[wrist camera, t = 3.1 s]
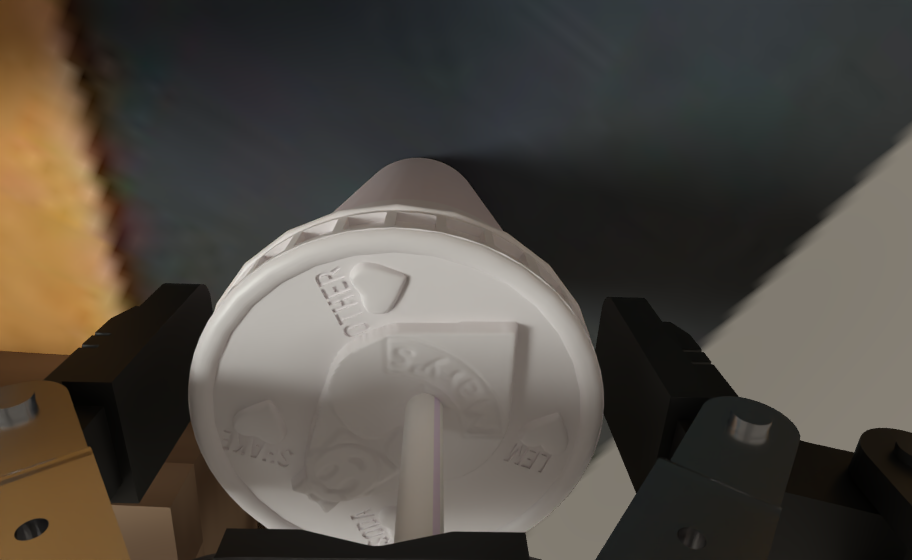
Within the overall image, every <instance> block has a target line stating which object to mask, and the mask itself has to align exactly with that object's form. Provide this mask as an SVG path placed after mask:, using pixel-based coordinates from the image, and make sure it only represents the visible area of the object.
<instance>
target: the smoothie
mask: <svg viewBox="0 0 912 560" xmlns="http://www.w3.org/2000/svg"><path fill="white" fill-rule="evenodd" d="M188 403H189V412H190V418H191V424H192V427H193V431H194V435H195V438H196V441H197V443H198V446H199V448H200V451H201V453H202V455H203V457H204V459H205V461H206V463H207V465H208V467H209V469H210V470H211V472H212V473H213V475H214V476H215V478H216V479H217V481H218V482H219V483H220V485H221V486H222V487H223V488H224V490H225V491H226V492H227V493H228V494H229V496H230V497H231V498H232V499H233V500H234V501H235V502H236V503H237V504H238V505H239V506H240V507H241V508H242V509H243V510H244V511H246V512H247V513H248V514H249V515H251V516H252V517H253V518H254V519H255V520H257V521H258V522H260V523H261V524H262V525H264V526H265V527H266V528H268V529H302V530H306V531H310V532H314V533H319V534H323V535H327V536H331V537H336V538H340V539H344V540H348V541H352V542H357V543H361V544H365V545H370V546H382V545H387V544H392V543H397V542H402V541H407V540H412V539H417V538H422V537H427V536H432V535H437V534H442V533H447V532H452V531H460V532H526V531H528V530H530V529H532V528H533V527H534V526H535V525H537V524H538V523H539V522H541V521H542V520H543V519H545V518H546V517H547V516H548V515H549V514H550V513H552V512H553V511H554V510H555V509H556V508H557V507H558V506H559V505H560V504H561V503H562V502H563V501H564V500H565V498H566V497H567V496H568V495H569V494H570V493H571V491H572V490H573V489H574V487H575V486H576V485H577V483H578V482H579V480H580V479H581V477H582V475H583V474H584V472H585V470H586V469H587V467H588V465H589V463H590V460H591V458H592V456H593V454H594V452H595V449H596V446H597V443H598V440H599V436H600V431H601V426H602V422H603V411H604V388H603V382H602V375H601V370H600V366H599V363H598V359H597V355H596V353H595V350H594V348H593V345H592V342H591V339H590V336H589V333H588V330H587V327H586V324H585V322H584V319H583V316H582V313H581V310H580V307H579V305H578V303H577V302H576V300H575V299H574V298H573V296H572V295H571V294H570V292H569V291H568V290H567V288H566V287H565V286H564V284H563V283H562V281H561V280H560V279H559V277H558V276H557V275H556V273H555V272H554V271H553V269H552V268H551V266H550V265H549V264H547V263H546V262H545V261H543V260H542V259H541V258H540V257H538V256H537V255H536V254H534V253H533V252H532V251H530V250H529V249H528V248H526V247H525V246H524V245H523V244H521V243H520V242H519V241H517V240H516V239H515V238H513V237H512V236H511V235H509V234H508V233H507V232H504V231H503V230H502V229H501V227H500V226H499V224H498V223H497V222H496V220H495V219H494V217H493V216H492V215H491V213H490V212H489V210H488V209H487V208H486V206H485V205H484V203H483V202H482V201H481V199H480V198H479V196H478V195H477V194H476V192H475V191H474V189H473V188H472V187H471V185H470V184H469V183H468V181H467V180H466V179H465V178H464V177H463V176H462V175H461V174H460V173H459V172H458V171H456V170H455V169H454V168H452V167H450V166H449V165H446V164H444V163H442V162H439V161H436V160H433V159H427V158H408V159H403V160H399V161H396V162H394V163H391V164H389V165H387V166H386V167H384V168H382V169H381V170H380V171H378V172H377V173H376V174H375V175H374V176H373V177H372V178H371V179H369V180H368V181H367V182H366V183H365V184H364V185H363V186H362V187H361V188H360V189H358V190H357V191H356V192H355V193H354V194H353V195H352V196H351V197H350V198H348V199H347V200H346V201H345V202H344V203H343V204H342V205H341V206H340V207H338V208H337V209H336V210H335V211H334V212H333V213H331V214H329V215H326V216H324V217H321V218H319V219H316V220H314V221H311V222H309V223H306V224H303V225H301V226H298V227H296V228H293V229H291V230H288V231H286V232H285V233H284V234H283V235H281V236H280V237H279V238H277V239H276V240H275V241H273V242H272V243H271V244H270V245H268V246H267V247H266V248H264V249H263V250H262V251H260V252H259V253H258V254H257V255H255V256H254V257H253V258H251V259H250V260H249V261H247V262H246V263H245V264H244V265H243V267H242V268H241V270H240V271H239V273H238V274H237V275H236V277H235V278H234V280H233V281H232V283H231V284H230V285H229V287H228V288H227V290H226V291H225V292H224V294H223V295H222V297H221V298H220V300H219V301H218V302H217V304H216V308H215V311H214V313H213V314H212V316H211V317H210V319H209V320H208V322H207V324H206V326H205V328H204V330H203V332H202V334H201V336H200V338H199V341H198V344H197V346H196V349H195V352H194V355H193V359H192V364H191V368H190V375H189V385H188Z"/></svg>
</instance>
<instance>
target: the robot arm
mask: <svg viewBox="0 0 912 560" xmlns="http://www.w3.org/2000/svg"><path fill="white" fill-rule="evenodd" d="M212 314H213V311H212V303H211V297H210V293H209V290H208V288H207V287H206V286H205V285H204V284H173V283H165V284H163V285H161V286H160V287H159V288H158V289H157V290H156V291H155V292H154V293H153V294H152V295H151V296H150V297H149V298H148V299H147V300H146V301H145V302H144V303H143V304H141V305H140V306H135V307H133V308H131V309H129V310H127V311H125V312H123V313H121V314H119V315H117V316H115V317H113V318H111V319H110V320H109V321H107V322H106V323H105V324H104V325H103V326H102V327H101V328H100V329H99V330H98V331H96V332H95V336H93V335H92V336H91V337H90V338H89V339H88V340H87V341H85V342H84V343H83V344H82V348H78V349H77V350H76V351H74V352H73V353H72V354H71V355H70V356H69V357H68V358H67V359H66V360H65V361H63V362H62V363H61V364H60V365H59V366H58V367H57V368H56V369H55V370H54V371H52V372H51V373H50V374H49V375H48V376H47V377H46V378H45V379H44V380H43V381H26V382H20V383H15V384H11V385H7V386H4V387H0V560H131V559H130V557H129V554H128V551H127V548H126V545H125V542H124V539H123V537H122V534H121V531H120V528H119V525H118V522H117V520H116V517H115V514H114V511H113V508H112V505H111V503H136V504H139V503H140V501H141V500H142V498H143V496H144V495H145V493H146V491H147V490H148V488H149V487H150V485H151V483H152V482H153V480H154V479H155V477H156V475H157V474H158V472H159V471H160V469H161V467H162V466H163V464H164V463H165V461H166V459H167V458H168V456H169V454H170V453H171V451H172V450H173V448H174V446H175V445H176V443H177V442H178V440H179V438H180V437H181V435H182V434H183V432H184V430H185V429H186V427H187V426H188V424H189V422H190V421H191V418H190V412H189V403H188V385H189V375H190V368H191V364H192V359H193V355H194V352H195V349H196V346H197V344H198V341H199V338H200V336H201V334H202V332H203V330H204V328H205V326H206V324H207V322H208V320H209V319H210V317H211V316H212ZM701 350H702V349H701V348H700V347H699V346H698V344H697V343H696V342H695V340H694V339H693V338H692V337H691V335H689V334H688V333H686V332H685V331H683V330H682V329H680V328H679V327H677V326H675V325H674V324H672V323H671V322H662V321H661V320H660V318H659V317H658V315H657V314H656V313H655V311H654V310H653V309H652V307H651V306H650V304H649V303H648V302H647V300H646V299H644V298H623V297H607V298H606V299H605V301H604V303H603V307H602V312H601V318H600V324H599V331H598V337H597V343H596V349H595V353H596V355H597V359H598V363H599V366H600V370H601V375H602V382H603V388H604V411H603V413H604V416H605V418H606V421H607V423H608V426H609V428H610V430H611V433H612V435H613V438H614V440H615V443H616V445H617V447H618V450H619V452H620V455H621V457H622V460H623V462H624V465H625V467H626V469H627V471H628V474H629V477H630V479H631V481H632V484H633V486H634V489H635V491H636V495H635V497H634V498H633V500H632V502H631V503H630V505H629V506H628V508H627V510H626V512H625V513H624V515H623V516H622V518H621V519H620V521H619V523H618V524H617V526H616V527H615V529H614V531H613V532H612V534H611V535H610V537H609V539H608V540H607V542H606V544H605V545H604V547H603V548H602V550H601V552H600V553H599V555H598V556H597V558H596V560H912V433H910V432H906V431H903V430H897V429H890V428H875V429H870V430H867V431H866V432H864V433H863V434H862V435H861V437H860V439H859V442H858V444H857V447H856V450H855V452H854V453H853V452H849V451H844V450H840V449H835V448H831V447H826V446H821V445H816V444H812V443H808V442H804V441H801V440H800V434H799V431H798V430H797V428H796V426H795V425H794V424H793V422H791V421H790V420H789V419H788V418H787V417H786V416H784V415H783V414H782V413H780V412H779V411H777V410H775V409H774V408H771V407H769V406H767V405H765V404H762V403H760V402H757V401H754V400H750V399H746V398H741V397H738V395H737V394H736V393H735V392H734V390H733V389H732V388H731V386H730V385H729V384H728V382H726V380H725V379H724V378H723V376H722V375H721V374H720V372H719V371H718V370H717V369H716V367H715V366H714V365H711V361H710V360H709V358H708V357H707V356H706V354H705V353H704V352H701ZM192 560H541V559H537V558H533V557H529V552H528V547H527V540H526V534H525V532H460V531H452V532H447V533H442V534H437V535H432V536H427V537H422V538H417V539H412V540H407V541H402V542H397V543H392V544H387V545H382V546H370V545H365V544H361V543H357V542H352V541H348V540H344V539H340V538H336V537H331V536H327V535H323V534H319V533H314V532H310V531H306V530H302V529H240V528H226V531H225V533H224V536H223V538H222V540H221V543H220V545H219V547H218V550H217V552H216V553H215V554H210V555H205V556H202V557H199V558H195V559H192Z"/></svg>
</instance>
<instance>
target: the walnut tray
mask: <svg viewBox="0 0 912 560" xmlns="http://www.w3.org/2000/svg"><path fill="white" fill-rule="evenodd" d="M69 356H70V355H56V354H40V353H23V352H7V351H0V387H4V386H7V385H11V384H15V383H20V382H26V381H43V380H44V379H45V378H46V377H47V376H48V375H49V374H50V373H51V372H52V371H54V370H55V369H56V368H57V367H58V366H59V365H60V364H61V363H62V362H63V361H65V360H66V359H67V358H68V357H69ZM111 505H112V508H113V511H114V514H115V517H116V520H117V522H118V525H119V528H120V531H121V534H122V537H123V539H124V542H125V545H126V548H127V551H128V554H129V557H130V559H131V560H192V559H195V558H199V557H202V556H205V555H210V554H215V553H216V552H217V550H218V547H219V545H220V543H221V540H222V538H223V536H224V533H225V531H226V528H240V529H257V520H255V519H254V518H253V517H252V516H251V515H249V514H248V513H247V512H246V511H244V510H243V509H242V508H241V507H240V506H239V505H238V504H237V503H236V502H235V501H234V500H233V499H232V498H231V497H230V496H229V494H228V493H227V492H226V491H225V490H224V488H223V487H222V486H221V485H220V483H219V482H218V481H217V479H216V478H215V476H214V475H213V473H212V472H211V470H210V469H209V467H208V465H207V463H206V461H205V459H204V457H203V455H202V453H201V451H200V448H199V446H198V443H197V441H196V438H195V435H194V431H193V427H192V424H191V421H190V422H189V424H188V426H187V427H186V429H185V430H184V432H183V434H182V435H181V437H180V438H179V440H178V442H177V443H176V445H175V446H174V448H173V450H172V451H171V453H170V454H169V456H168V458H167V459H166V461H165V463H164V464H163V466H162V467H161V469H160V471H159V472H158V474H157V475H156V477H155V479H154V480H153V482H152V483H151V485H150V487H149V488H148V490H147V491H146V493H145V495H144V496H143V498H142V500H141V501H140V503H139V504H136V503H111Z"/></svg>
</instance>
